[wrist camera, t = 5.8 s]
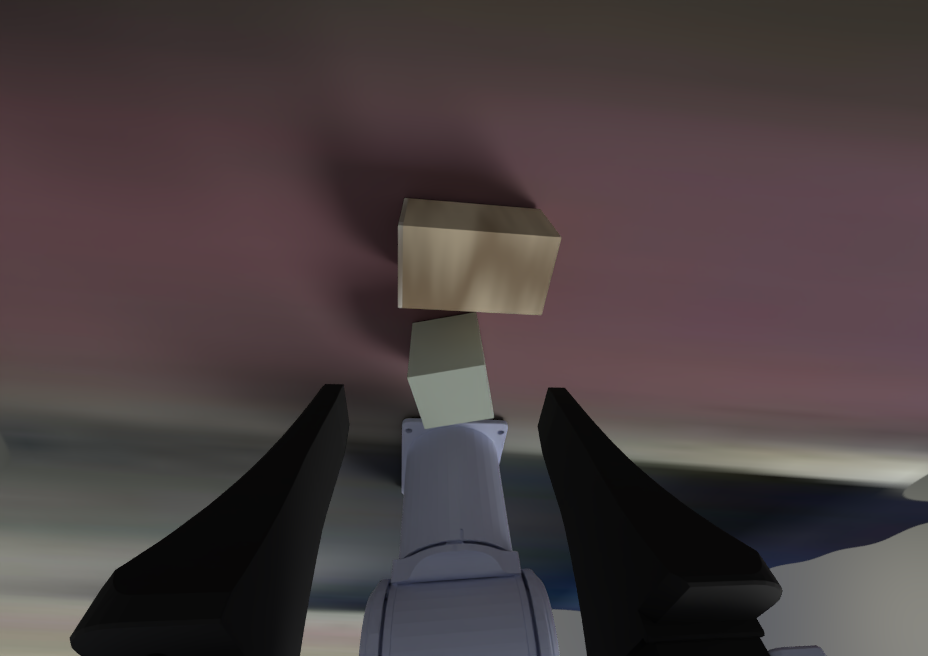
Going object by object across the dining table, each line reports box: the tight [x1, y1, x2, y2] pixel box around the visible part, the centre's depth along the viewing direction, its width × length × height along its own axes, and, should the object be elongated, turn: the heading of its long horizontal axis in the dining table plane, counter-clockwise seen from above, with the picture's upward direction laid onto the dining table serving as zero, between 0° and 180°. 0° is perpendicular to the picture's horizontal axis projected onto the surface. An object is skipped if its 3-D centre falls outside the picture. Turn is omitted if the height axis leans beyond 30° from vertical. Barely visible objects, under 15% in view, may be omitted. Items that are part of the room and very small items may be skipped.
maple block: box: [398, 198, 561, 315], centre depth 19 cm, size 4×4×7 cm
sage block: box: [407, 312, 494, 429], centre depth 22 cm, size 4×4×5 cm
